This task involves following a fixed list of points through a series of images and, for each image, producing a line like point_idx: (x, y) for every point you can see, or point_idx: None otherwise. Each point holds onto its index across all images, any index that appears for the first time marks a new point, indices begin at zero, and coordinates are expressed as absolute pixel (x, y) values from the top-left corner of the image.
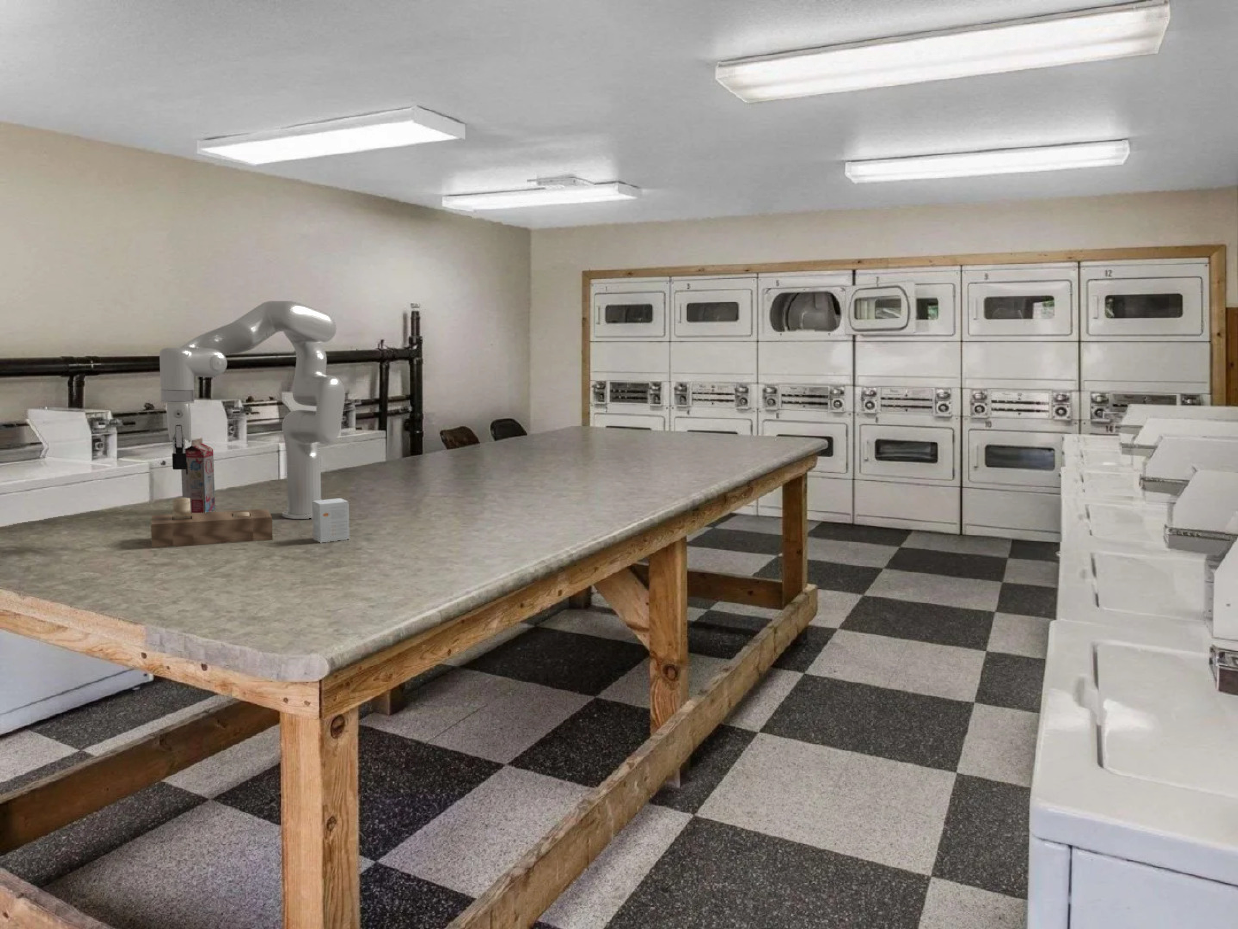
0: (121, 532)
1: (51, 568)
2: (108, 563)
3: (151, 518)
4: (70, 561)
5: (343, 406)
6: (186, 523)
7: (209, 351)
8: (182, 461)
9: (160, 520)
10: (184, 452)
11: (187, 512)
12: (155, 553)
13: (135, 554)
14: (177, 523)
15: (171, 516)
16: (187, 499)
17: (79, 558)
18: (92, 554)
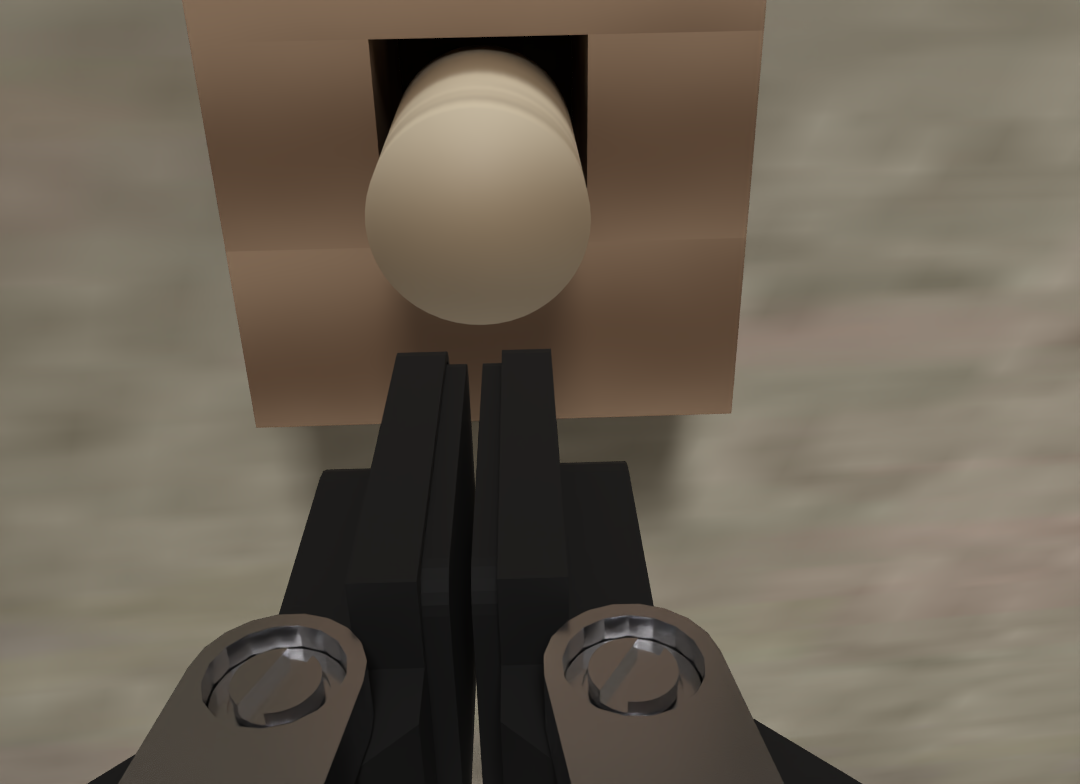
0: (22, 535)
1: (996, 754)
2: (1041, 531)
3: None
4: (868, 701)
5: None
6: (754, 95)
7: None
8: (637, 525)
9: (555, 345)
10: (717, 663)
11: (557, 104)
12: (889, 284)
13: (854, 406)
14: (746, 187)
15: (354, 253)
16: (546, 143)
17: (810, 672)
18: (728, 626)
